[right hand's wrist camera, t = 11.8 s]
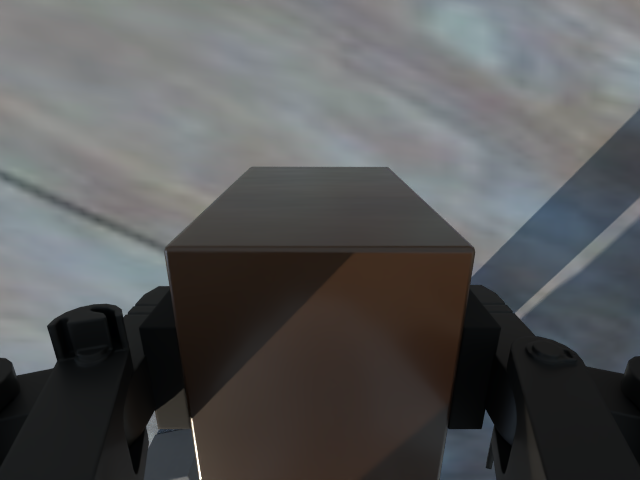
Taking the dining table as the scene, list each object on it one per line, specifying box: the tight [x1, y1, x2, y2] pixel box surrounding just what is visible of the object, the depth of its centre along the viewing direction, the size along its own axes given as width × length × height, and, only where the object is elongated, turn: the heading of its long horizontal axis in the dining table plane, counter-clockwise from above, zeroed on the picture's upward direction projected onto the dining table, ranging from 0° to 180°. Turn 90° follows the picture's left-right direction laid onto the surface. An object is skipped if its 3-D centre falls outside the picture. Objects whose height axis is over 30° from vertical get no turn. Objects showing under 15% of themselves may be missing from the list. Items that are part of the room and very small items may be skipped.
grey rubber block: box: [144, 429, 199, 480], centre depth 32 cm, size 5×5×5 cm
